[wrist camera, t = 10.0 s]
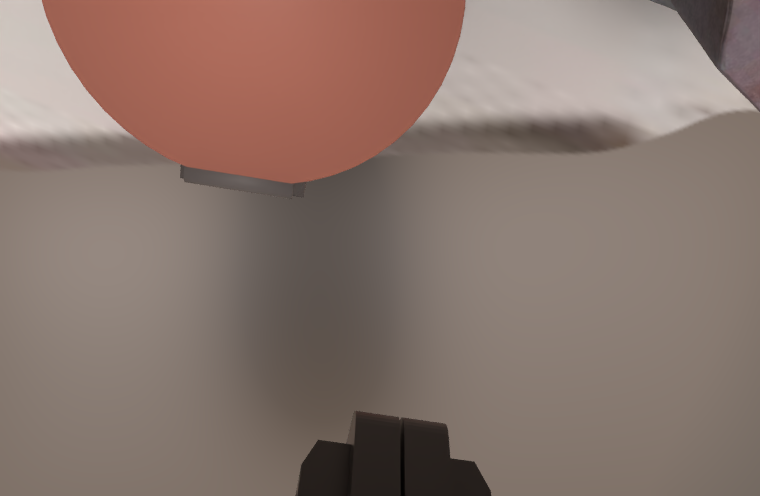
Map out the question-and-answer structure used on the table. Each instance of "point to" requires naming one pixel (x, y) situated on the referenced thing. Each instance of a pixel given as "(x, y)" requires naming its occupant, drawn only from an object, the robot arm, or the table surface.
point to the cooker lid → (260, 79)
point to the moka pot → (727, 38)
